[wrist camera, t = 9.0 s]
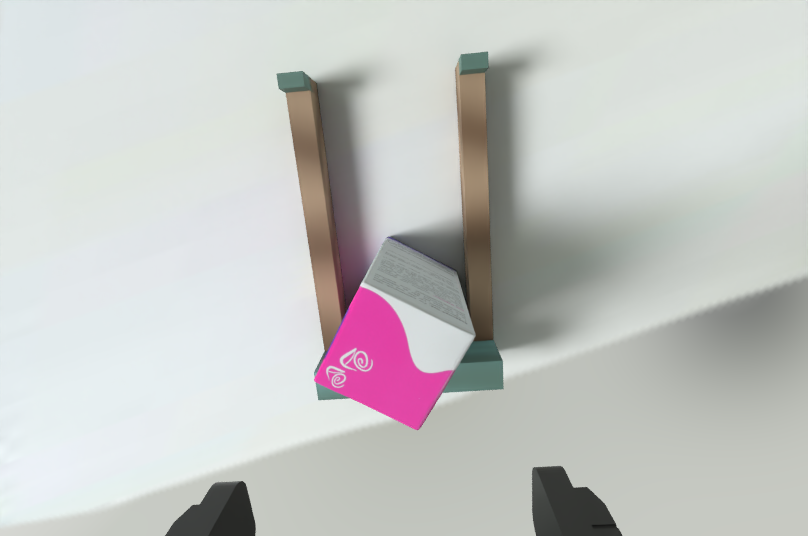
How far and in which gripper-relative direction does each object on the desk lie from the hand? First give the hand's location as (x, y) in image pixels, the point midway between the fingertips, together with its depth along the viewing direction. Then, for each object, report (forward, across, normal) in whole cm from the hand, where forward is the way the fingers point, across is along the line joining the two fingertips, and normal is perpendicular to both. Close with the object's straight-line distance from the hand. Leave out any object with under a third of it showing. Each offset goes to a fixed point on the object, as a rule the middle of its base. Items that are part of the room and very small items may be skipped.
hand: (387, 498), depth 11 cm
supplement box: (+19, 0, 0) cm, 19 cm away
